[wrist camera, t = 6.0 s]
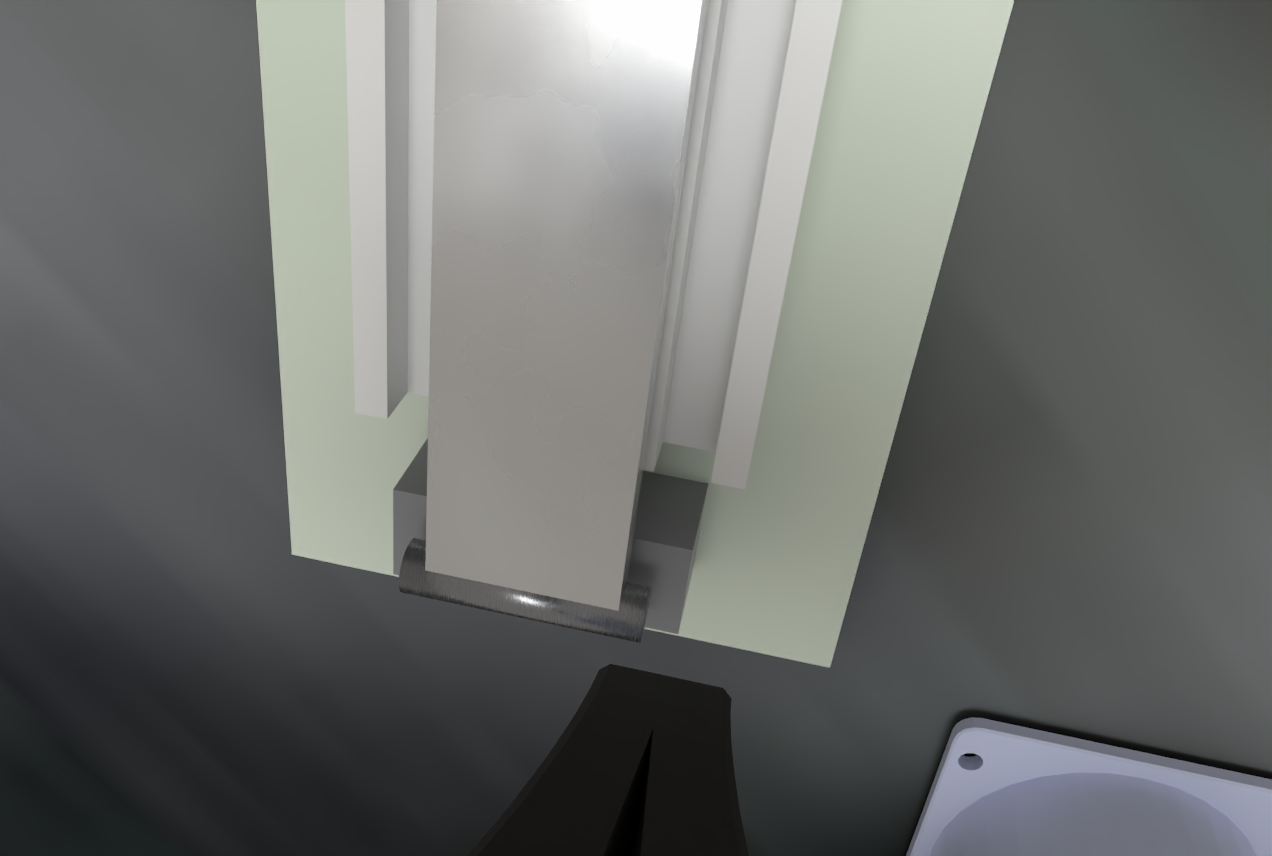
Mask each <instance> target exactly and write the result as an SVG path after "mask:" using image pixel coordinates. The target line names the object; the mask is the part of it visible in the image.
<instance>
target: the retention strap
mask: <svg viewBox="0 0 1272 856" xmlns="http://www.w3.org/2000/svg"><path fill="white" fill-rule="evenodd" d="M707 7H708V0H437V6H436V57H435V107H434V157H433V208H432V258H431V308H430V359H429V409H428V460H427V510H426V540H422V539H417V538H413V539H412V540H411V541H410V542H409V544H408V546H407V548H406V550H405V553H404V556H403V559H402V563H401V567H400V573H399V589H400V591H401V592H403V593H408V594H413V595H417V596H422V597H427V598H431V599H436V600H441V601H446V602H450V603H455V604H460V605H464V606H469V607H474V608H479V609H483V610H488V611H493V612H497V613H502V614H507V615H512V616H516V617H521V618H526V619H530V620H535V621H540V622H545V623H549V624H554V625H559V626H563V627H568V628H573V629H578V630H582V631H587V632H592V633H596V634H601V635H606V636H611V637H615V638H620V639H625V640H629V641H634V642H639V643H640V642H641V640H642V636H643V632H644V628H645V624H646V619H647V614H648V609H649V604H650V598H651V590H652V587H649V586H645V585H640V584H635V583H630V582H627V580H628V573H629V566H630V559H631V551H632V544H633V537H634V530H635V523H636V516H637V508H638V501H639V494H640V487H641V480H642V473H643V466H644V458H645V451H646V444H647V437H648V430H649V423H650V415H651V408H652V401H653V394H654V387H655V380H656V372H657V365H658V358H659V351H660V344H661V337H662V329H663V322H664V315H665V308H666V301H667V294H668V287H669V279H670V272H671V265H672V258H673V251H674V244H675V236H676V229H677V222H678V215H679V208H680V201H681V193H682V186H683V179H684V172H685V165H686V158H687V150H688V143H689V136H690V129H691V122H692V115H693V108H694V100H695V93H696V86H697V79H698V72H699V65H700V57H701V50H702V43H703V36H704V29H705V22H706V14H707Z"/></svg>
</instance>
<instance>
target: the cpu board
mask: <svg viewBox="0 0 1272 856" xmlns="http://www.w3.org/2000/svg"><path fill="white" fill-rule="evenodd" d="M1013 3H1014V0H708V7H707V14H706V22H705V29H704V36H703V43H702V50H701V57H700V65H699V72H698V79H697V86H696V93H695V100H694V108H693V115H692V122H691V129H690V136H689V143H688V150H687V158H686V165H685V172H684V179H683V186H682V193H681V201H680V208H679V215H678V222H677V229H676V236H675V244H674V251H673V258H672V265H671V272H670V279H669V287H668V294H667V301H666V308H665V315H664V322H663V329H662V337H661V344H660V351H659V358H658V365H657V372H656V380H655V387H654V394H653V401H652V408H651V415H650V423H649V430H648V437H647V444H646V451H645V458H644V466H643V473H642V480H641V487H640V494H639V501H638V508H637V516H636V523H635V530H634V537H633V544H632V551H631V559H630V566H629V573H628V580H627V582H630V583H635V584H640V585H645V586H649V587H652V590H651V598H650V604H649V609H648V614H647V619H646V624H645V628H644V629H648V630H653V631H658V632H662V633H667V634H672V635H677V636H681V637H686V638H691V639H696V640H700V641H705V642H710V643H715V644H719V645H724V646H729V647H734V648H738V649H743V650H748V651H753V652H757V653H762V654H767V655H772V656H776V657H781V658H786V659H791V660H795V661H800V662H805V663H810V664H814V665H819V666H824V667H829V668H830V666H831V662H832V659H833V655H834V651H835V648H836V644H837V640H838V637H839V633H840V630H841V626H842V622H843V619H844V615H845V611H846V608H847V604H848V601H849V597H850V593H851V590H852V586H853V583H854V579H855V575H856V572H857V568H858V564H859V561H860V557H861V554H862V550H863V546H864V543H865V539H866V535H867V532H868V528H869V525H870V521H871V517H872V514H873V510H874V506H875V503H876V499H877V496H878V492H879V488H880V485H881V481H882V477H883V474H884V470H885V467H886V463H887V459H888V456H889V452H890V448H891V445H892V441H893V438H894V434H895V430H896V427H897V423H898V419H899V416H900V412H901V409H902V405H903V401H904V398H905V394H906V390H907V387H908V383H909V380H910V376H911V372H912V369H913V365H914V361H915V358H916V354H917V351H918V347H919V343H920V340H921V336H922V333H923V329H924V325H925V322H926V318H927V314H928V311H929V307H930V304H931V300H932V296H933V293H934V289H935V285H936V282H937V278H938V275H939V271H940V267H941V264H942V260H943V256H944V253H945V249H946V246H947V242H948V238H949V235H950V231H951V227H952V224H953V220H954V217H955V213H956V209H957V206H958V202H959V198H960V195H961V191H962V188H963V184H964V180H965V177H966V173H967V169H968V166H969V162H970V159H971V155H972V151H973V148H974V144H975V140H976V137H977V133H978V130H979V126H980V122H981V119H982V115H983V111H984V108H985V104H986V101H987V97H988V93H989V90H990V86H991V82H992V79H993V75H994V72H995V68H996V64H997V61H998V57H999V54H1000V50H1001V46H1002V43H1003V39H1004V35H1005V32H1006V28H1007V25H1008V21H1009V17H1010V14H1011V10H1012V6H1013ZM256 6H257V21H258V37H259V52H260V68H261V83H262V99H263V114H264V129H265V145H266V160H267V176H268V191H269V207H270V222H271V238H272V253H273V269H274V284H275V300H276V315H277V331H278V346H279V362H280V377H281V393H282V408H283V424H284V439H285V455H286V470H287V486H288V501H289V516H290V532H291V547H292V555H297V556H302V557H307V558H311V559H316V560H321V561H326V562H330V563H335V564H340V565H345V566H349V567H354V568H359V569H364V570H368V571H373V572H378V573H382V574H387V575H392V576H397V577H399V573H400V567H401V563H402V559H403V556H404V553H405V550H406V548H407V546H408V544H409V542H410V541H411V540H412V539H413V538H417V539H422V540H426V510H427V460H428V409H429V359H430V308H431V258H432V208H433V157H434V107H435V57H436V6H437V0H256Z"/></svg>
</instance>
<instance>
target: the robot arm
mask: <svg viewBox="0 0 1272 856" xmlns="http://www.w3.org/2000/svg"><path fill="white" fill-rule="evenodd" d="M730 711H731V697H730V696H729V695H728V694H727V692H726V691H725V690H724V689H723V688H720V687H716V686H711V685H706V684H702V683H697V682H692V681H688V680H683V679H678V678H674V677H669V676H664V675H660V674H655V673H650V672H646V671H641V670H636V669H632V668H627V667H623V666H618V665H613V664H610V665H608V666H606V667H604V668H602V669H600V670H599V671H598V674H597V676H596V678H595V680H594V682H593V684H592V686H591V688H590V690H589V692H588V693H587V695H586V697H585V699H584V700H583V702H582V704H581V706H580V707H579V709H578V711H577V712H576V714H575V716H574V717H573V719H572V720H571V722H570V723H569V725H568V727H567V728H566V730H565V731H564V733H563V734H562V735H561V737H560V738H559V740H558V741H557V743H556V744H555V746H554V747H553V749H552V750H551V752H550V753H549V755H548V756H547V757H546V759H545V760H544V761H543V763H542V764H541V765H540V767H539V768H538V769H537V771H536V772H535V773H534V775H533V776H532V777H531V779H530V780H529V781H528V783H527V784H526V785H525V787H524V788H523V789H522V791H521V792H520V793H519V795H518V796H517V797H516V799H515V800H514V801H513V803H512V804H511V805H510V807H509V808H508V809H507V810H506V812H505V813H504V814H503V815H502V816H501V818H500V819H499V820H498V821H497V822H496V824H495V825H494V826H493V827H492V828H491V829H490V831H489V832H488V833H487V834H486V835H485V836H484V838H483V839H482V840H481V841H480V842H479V843H478V845H477V846H476V847H475V848H474V849H473V850H472V852H471V853H470V854H469V855H468V856H749V855H748V850H747V845H746V841H745V836H744V831H743V826H742V821H741V815H740V809H739V803H738V797H737V789H736V782H735V774H734V767H733V757H732V746H731V721H730ZM966 753H974V754H977V755H976V756H973V757H966V756H963V755H964V754H966ZM906 856H1272V779H1267V778H1262V777H1257V776H1253V775H1248V774H1243V773H1239V772H1234V771H1229V770H1224V769H1220V768H1215V767H1210V766H1206V765H1201V764H1196V763H1191V762H1187V761H1182V760H1177V759H1173V758H1168V757H1163V756H1158V755H1154V754H1149V753H1144V752H1140V751H1135V750H1130V749H1125V748H1121V747H1116V746H1111V745H1107V744H1102V743H1097V742H1093V741H1088V740H1083V739H1078V738H1074V737H1069V736H1064V735H1060V734H1055V733H1050V732H1045V731H1041V730H1036V729H1031V728H1027V727H1022V726H1017V725H1012V724H1008V723H1003V722H998V721H994V720H989V719H984V718H975V717H972V718H967V719H963V720H962V721H960V722H958V723H957V724H956V725H955V727H954V728H953V730H952V732H951V735H950V738H949V740H948V743H947V746H946V749H945V751H944V754H943V757H942V759H941V762H940V765H939V768H938V770H937V773H936V776H935V778H934V781H933V784H932V787H931V789H930V792H929V795H928V797H927V800H926V803H925V805H924V808H923V811H922V814H921V816H920V819H919V822H918V824H917V827H916V830H915V833H914V835H913V838H912V841H911V843H910V846H909V849H908V852H907V854H906Z"/></svg>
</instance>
